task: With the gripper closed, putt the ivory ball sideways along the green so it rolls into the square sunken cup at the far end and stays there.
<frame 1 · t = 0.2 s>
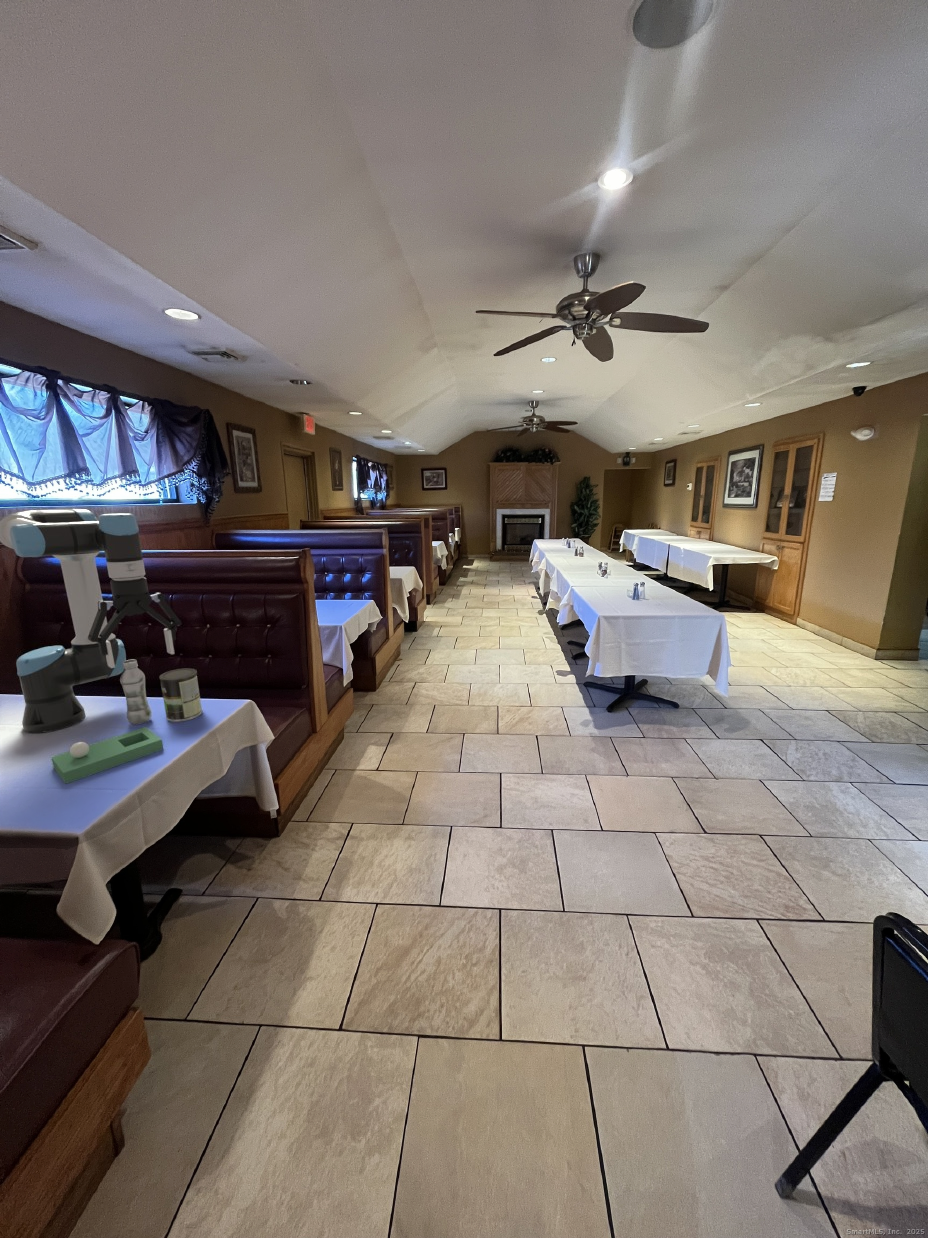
hand: (142, 659, 127), 28 cm above the table, fingers open, 13 cm apart
green: (110, 758, 134), on the table
plastic bottle: (140, 722, 155), on the table
coffee can: (184, 715, 160), on the table
ball: (79, 749, 128), point 5 cm above the table, touching green
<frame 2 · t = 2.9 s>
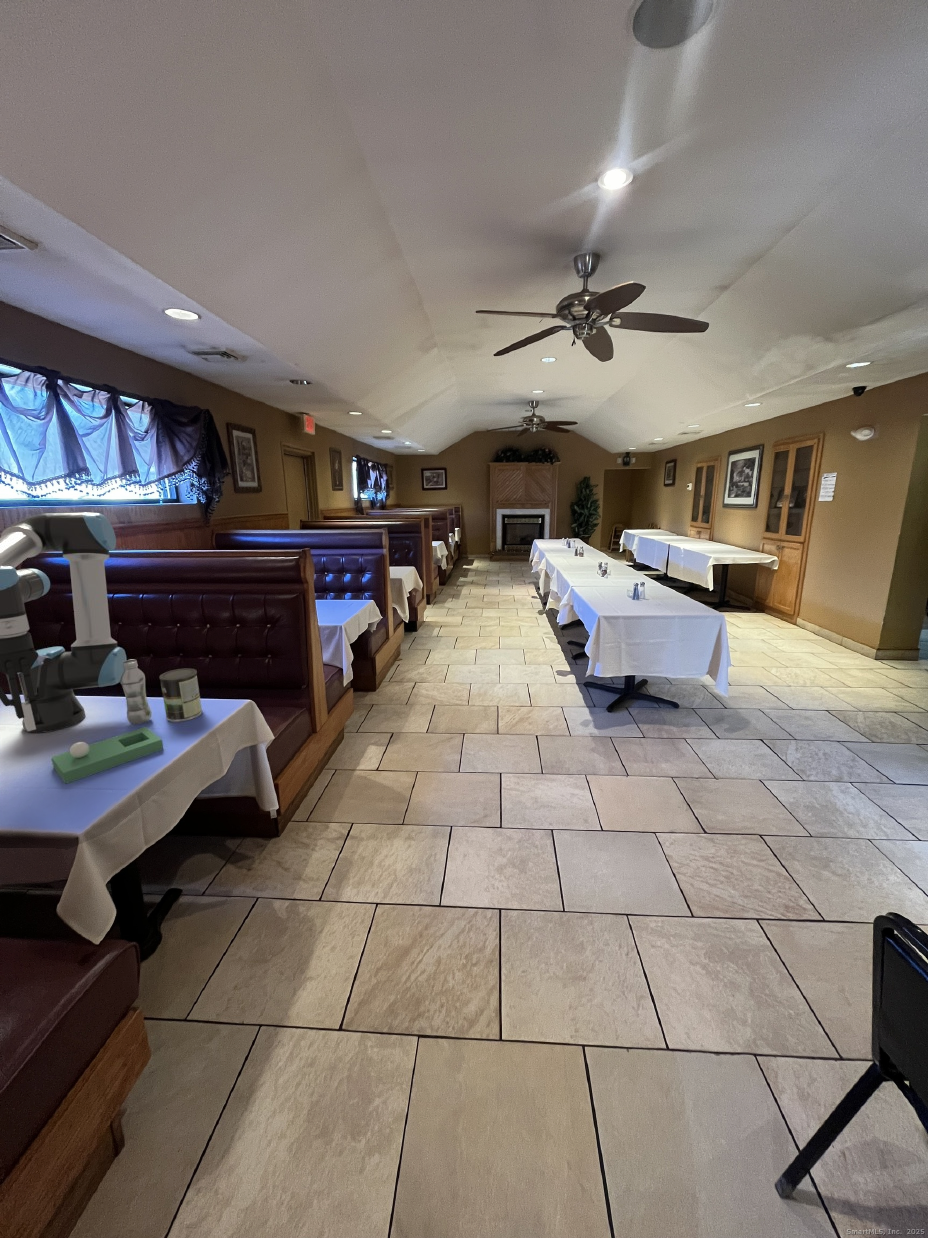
hand: (30, 728, 119), 14 cm above the table, fingers closed
nothing on the table moved.
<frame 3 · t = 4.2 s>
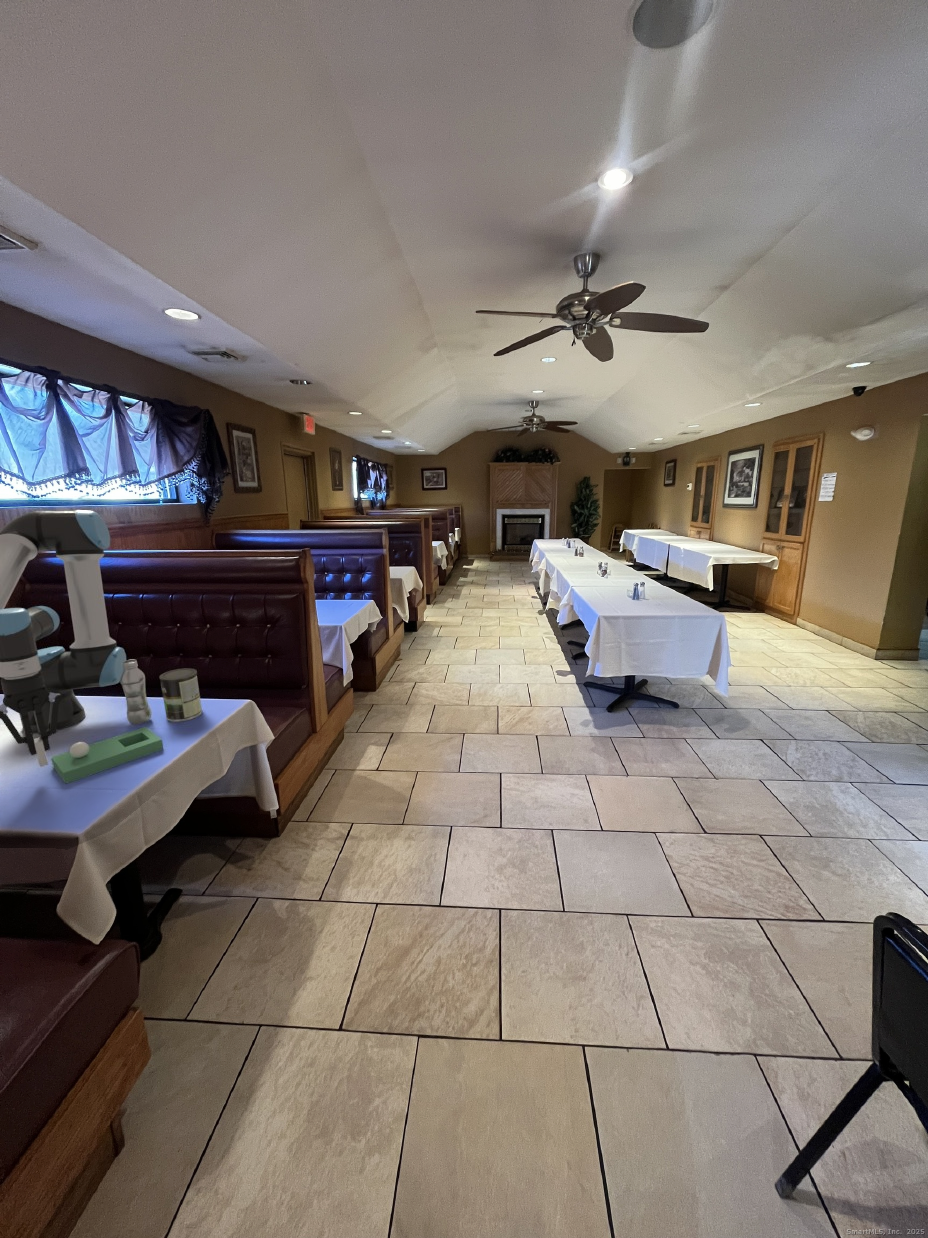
hand: (43, 763, 123), 4 cm above the table, fingers closed
nothing on the table moved.
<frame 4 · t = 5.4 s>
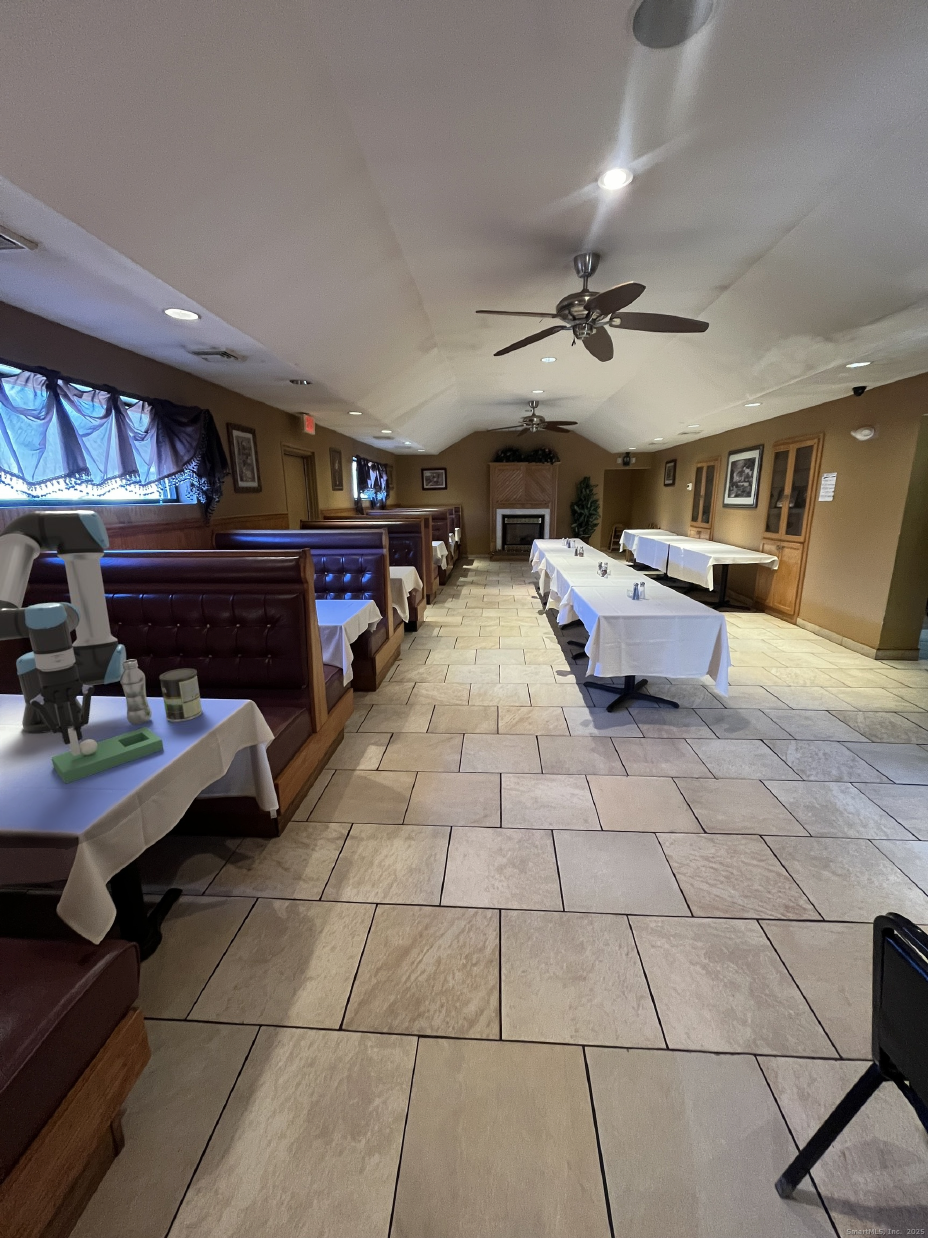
hand: (75, 753, 127), 4 cm above the table, fingers closed
ball: (88, 747, 129), point 5 cm above the table, tilted 50°, touching green, gripper
everything else where it was.
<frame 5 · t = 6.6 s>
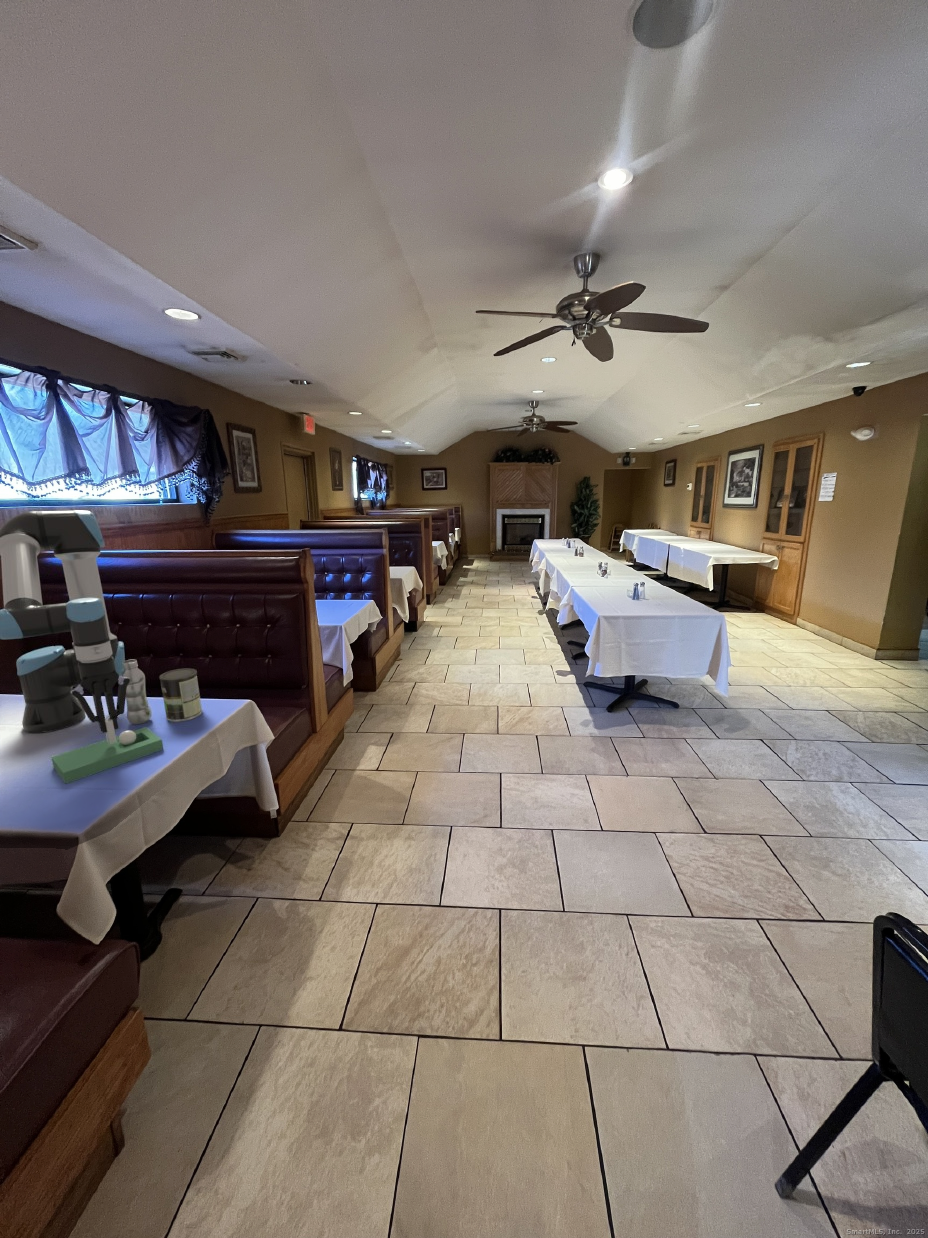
hand: (112, 741, 133), 4 cm above the table, fingers closed
ball: (127, 737, 136), point 4 cm above the table, tilted 85°
everything else where it was.
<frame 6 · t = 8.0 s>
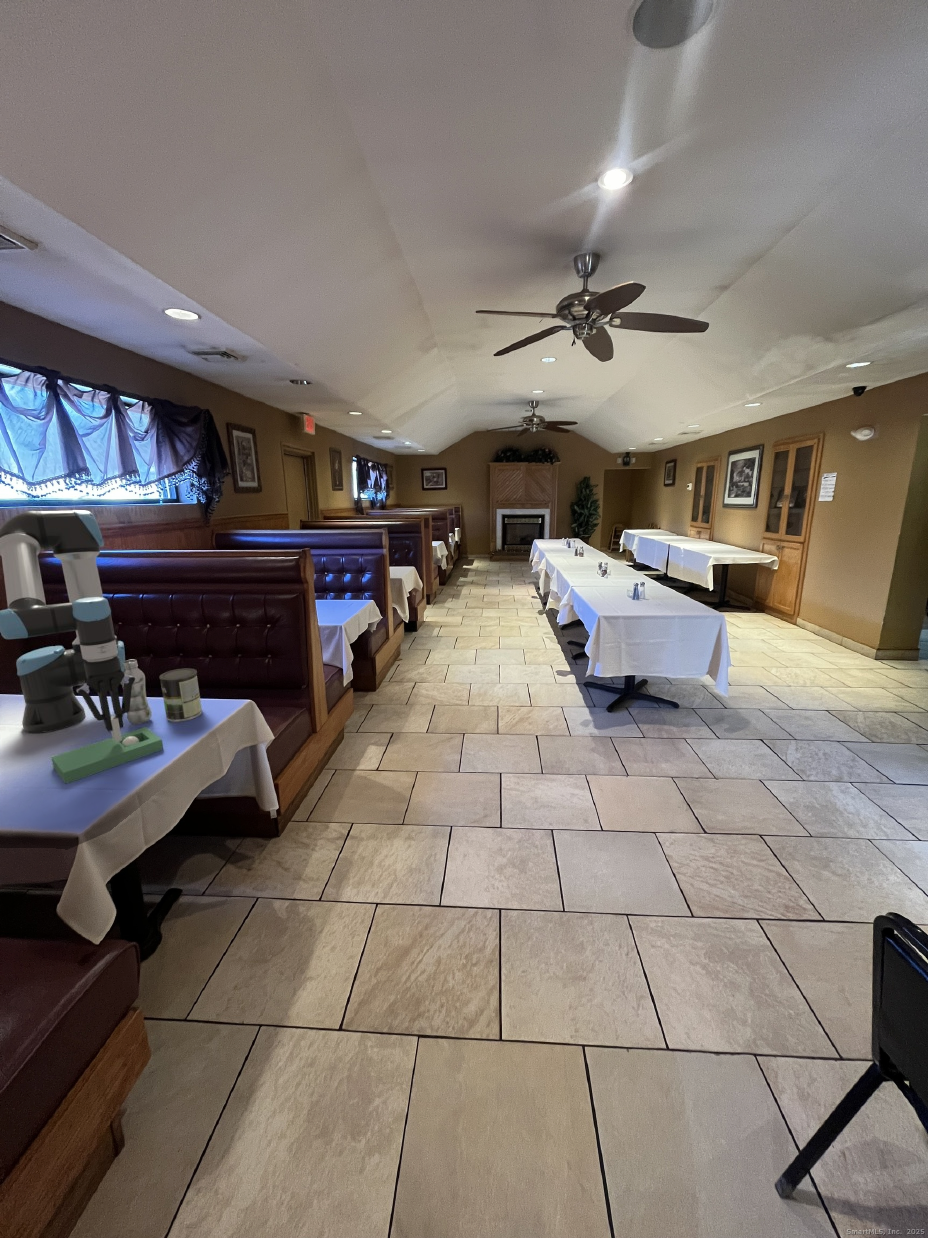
hand: (117, 739, 134), 4 cm above the table, fingers closed
ball: (130, 743, 137), point 2 cm above the table, tilted 52°, touching green
everything else where it was.
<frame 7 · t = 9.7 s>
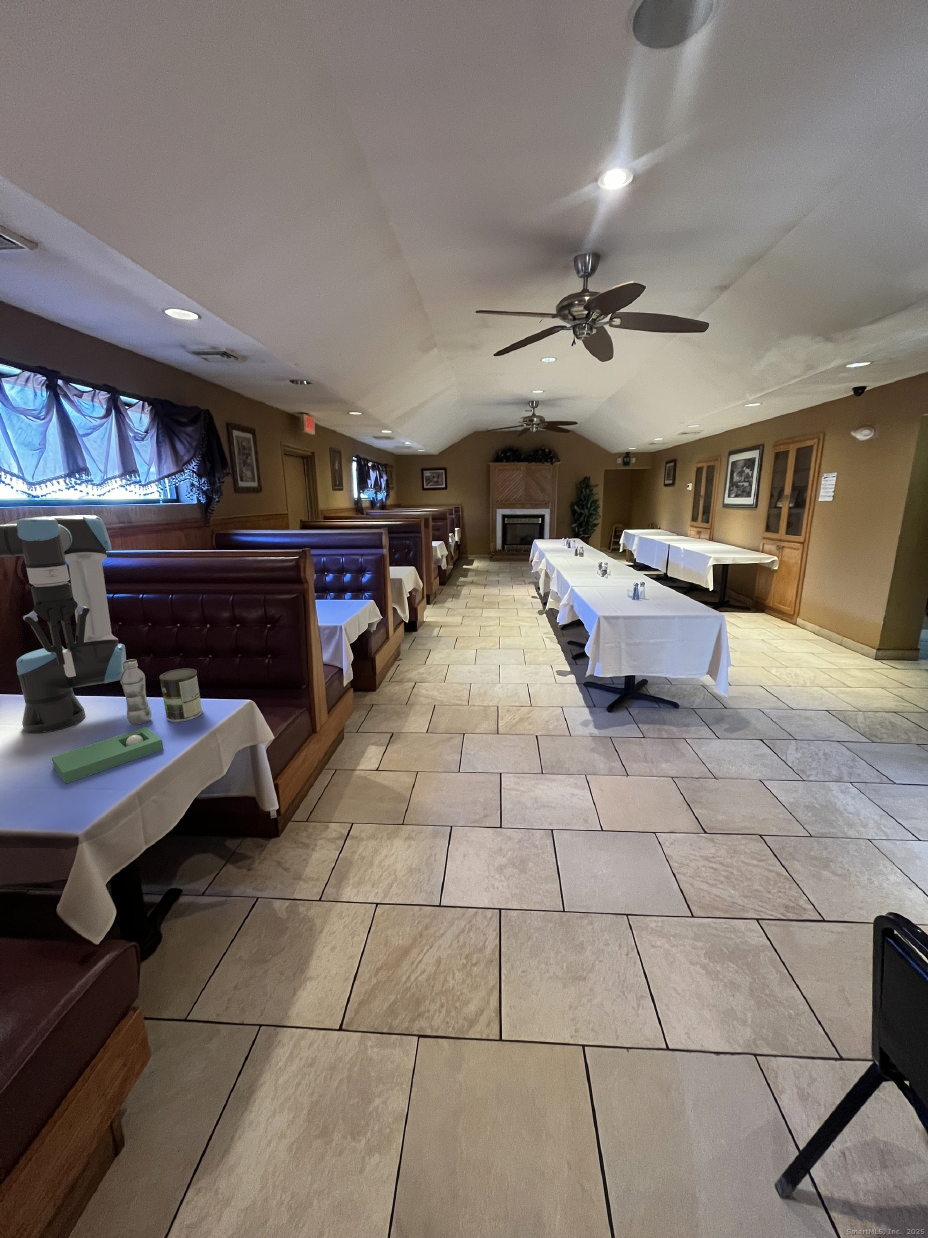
hand: (70, 675, 125), 25 cm above the table, fingers closed
ball: (134, 742, 138), point 2 cm above the table, tilted 24°, touching green
everything else where it was.
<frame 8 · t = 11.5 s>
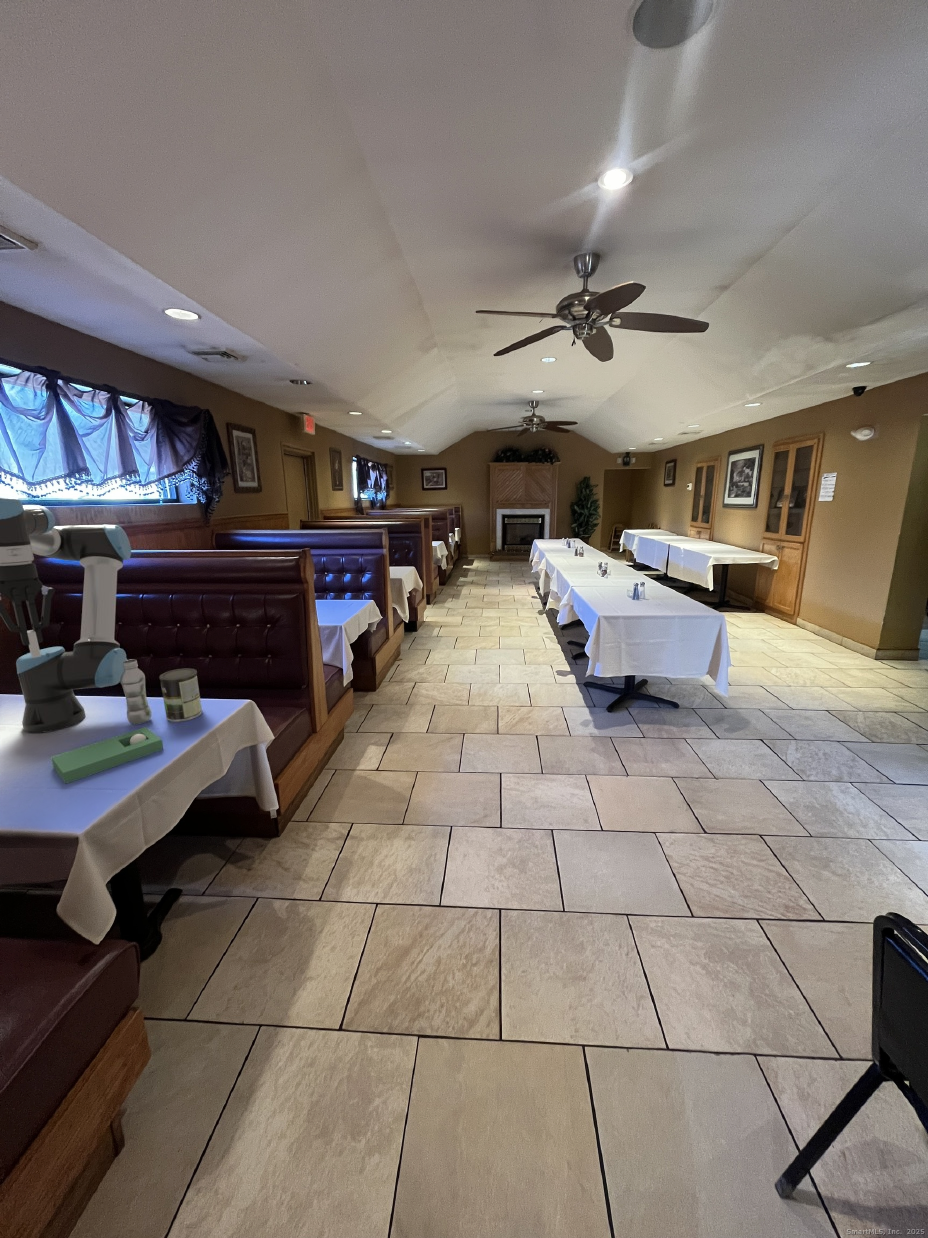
hand: (36, 656, 125), 29 cm above the table, fingers closed
ball: (138, 741, 138), point 2 cm above the table, touching green
everything else where it was.
at the end: ball 1.0 cm from the target spot on the green, point 2.2 cm above the green's base; the gripper is holding nothing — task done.
